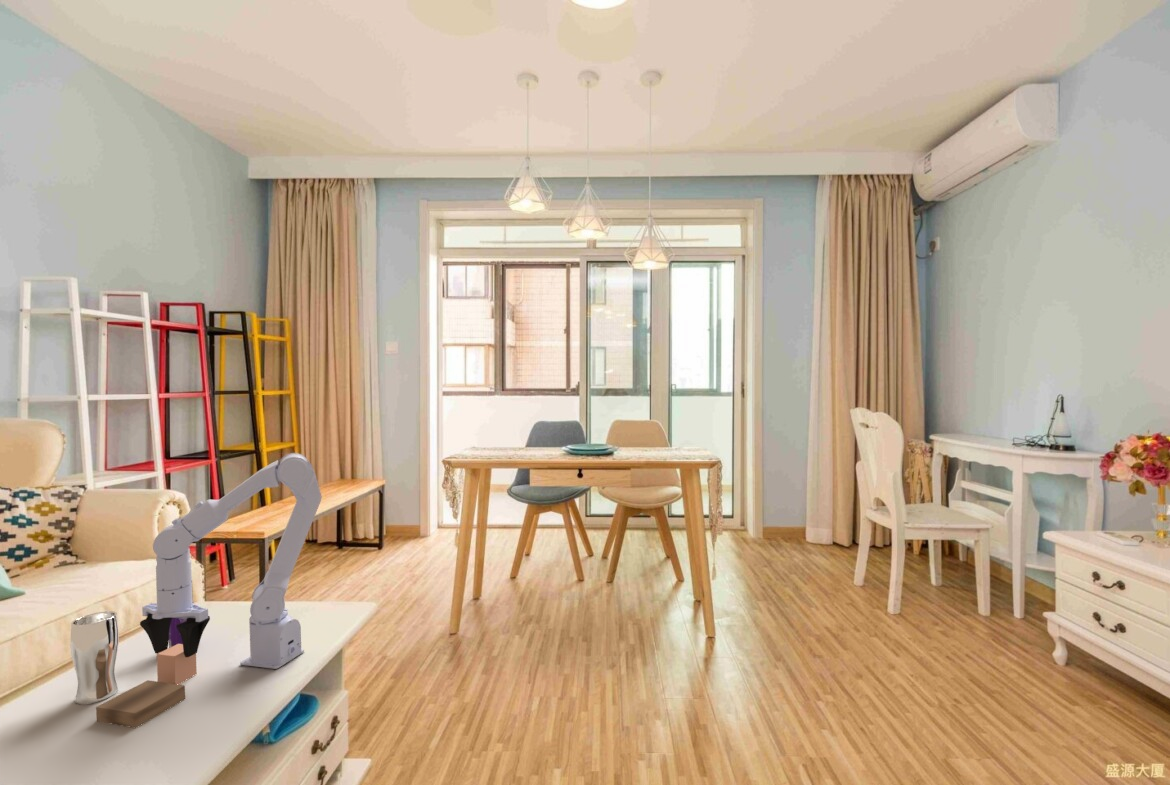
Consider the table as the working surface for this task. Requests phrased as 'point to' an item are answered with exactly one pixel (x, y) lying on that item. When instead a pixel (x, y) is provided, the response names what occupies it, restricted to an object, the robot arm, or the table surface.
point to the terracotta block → (175, 665)
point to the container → (176, 630)
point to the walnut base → (140, 703)
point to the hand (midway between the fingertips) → (176, 653)
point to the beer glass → (95, 655)
